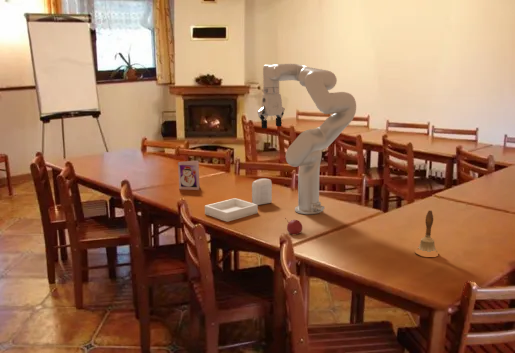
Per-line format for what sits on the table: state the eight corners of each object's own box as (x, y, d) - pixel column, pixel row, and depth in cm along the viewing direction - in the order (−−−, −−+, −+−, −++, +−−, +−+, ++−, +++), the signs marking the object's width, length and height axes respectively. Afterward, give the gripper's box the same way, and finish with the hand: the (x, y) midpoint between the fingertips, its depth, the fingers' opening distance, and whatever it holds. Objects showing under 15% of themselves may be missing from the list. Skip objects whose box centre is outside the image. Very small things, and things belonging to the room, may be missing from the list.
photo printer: (268, 200, 252) (267, 176, 250) (273, 202, 249) (273, 178, 246) (250, 204, 247) (250, 179, 244) (255, 206, 243) (255, 181, 241)
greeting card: (178, 189, 277) (177, 162, 274) (183, 186, 284) (182, 159, 281) (198, 190, 275) (197, 163, 271) (203, 187, 282) (202, 160, 278)
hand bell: (433, 249, 186) (436, 207, 183) (442, 257, 178) (445, 214, 175) (411, 249, 186) (413, 207, 182) (419, 258, 178) (421, 214, 174)
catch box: (257, 213, 233) (257, 204, 232) (226, 221, 221) (226, 213, 220) (235, 206, 244) (235, 198, 243) (204, 214, 233) (204, 205, 232)
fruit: (297, 235, 209) (290, 216, 211) (306, 231, 205) (299, 212, 206) (286, 238, 205) (279, 219, 207) (295, 234, 201) (288, 215, 202)
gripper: (263, 92, 232) (264, 130, 236) (289, 90, 243) (289, 126, 247) (252, 91, 237) (253, 128, 241) (278, 89, 249) (278, 124, 252)
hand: (271, 127), depth 244 cm, fingers open, 9 cm apart
